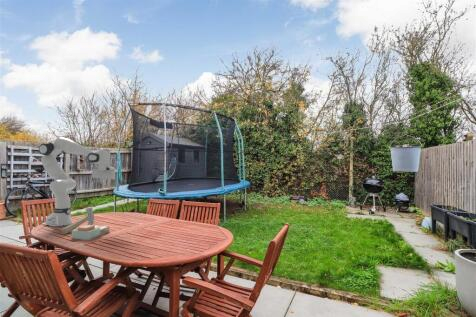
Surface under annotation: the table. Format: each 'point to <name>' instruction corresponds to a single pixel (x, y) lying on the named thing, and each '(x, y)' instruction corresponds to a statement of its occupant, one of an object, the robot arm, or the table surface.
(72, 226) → the hammer
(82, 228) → the block
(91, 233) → the box
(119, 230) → the table surface
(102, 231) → the board
